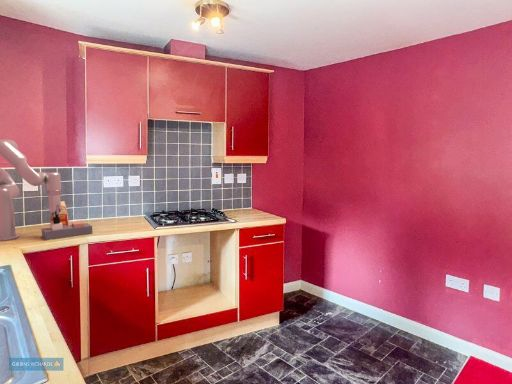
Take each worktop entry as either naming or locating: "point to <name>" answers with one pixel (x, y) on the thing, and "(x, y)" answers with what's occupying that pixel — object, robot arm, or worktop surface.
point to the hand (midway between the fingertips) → (56, 223)
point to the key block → (66, 232)
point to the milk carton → (62, 215)
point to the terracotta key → (77, 224)
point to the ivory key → (56, 226)
